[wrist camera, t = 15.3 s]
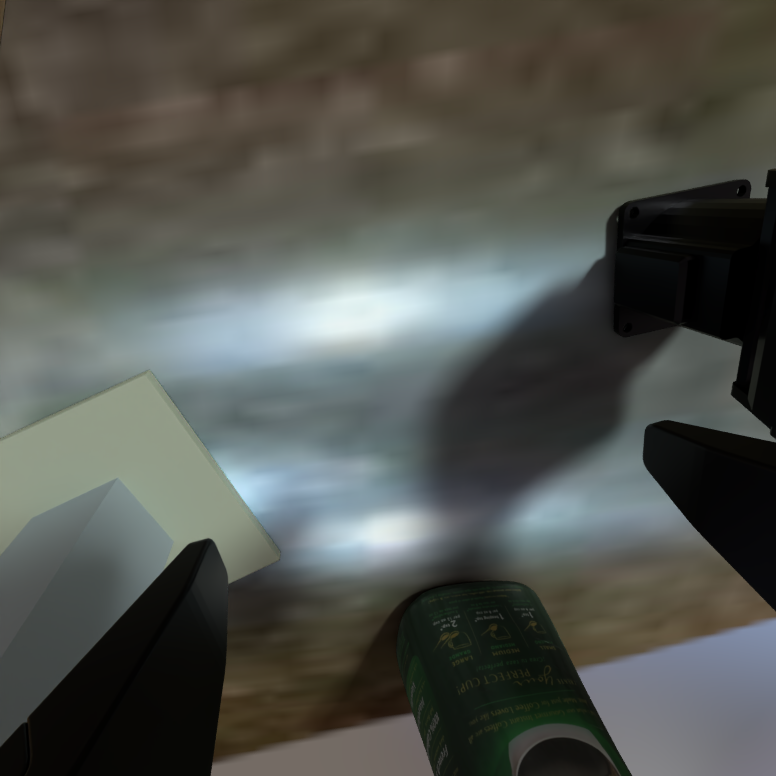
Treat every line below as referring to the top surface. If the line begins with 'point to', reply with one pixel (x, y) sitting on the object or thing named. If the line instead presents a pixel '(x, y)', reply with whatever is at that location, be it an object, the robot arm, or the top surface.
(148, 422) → the mat
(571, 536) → the top surface
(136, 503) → the post
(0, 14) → the pocket
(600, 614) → the top surface
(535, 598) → the coffee jar
